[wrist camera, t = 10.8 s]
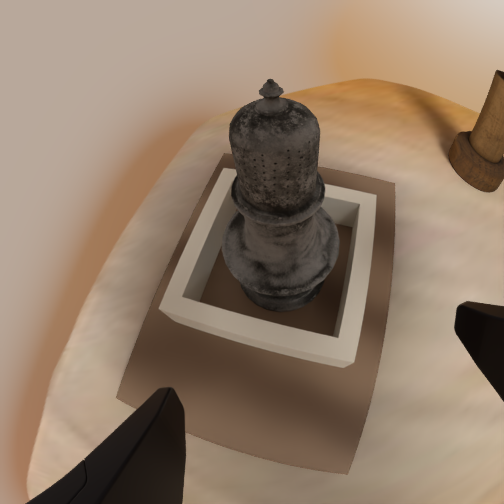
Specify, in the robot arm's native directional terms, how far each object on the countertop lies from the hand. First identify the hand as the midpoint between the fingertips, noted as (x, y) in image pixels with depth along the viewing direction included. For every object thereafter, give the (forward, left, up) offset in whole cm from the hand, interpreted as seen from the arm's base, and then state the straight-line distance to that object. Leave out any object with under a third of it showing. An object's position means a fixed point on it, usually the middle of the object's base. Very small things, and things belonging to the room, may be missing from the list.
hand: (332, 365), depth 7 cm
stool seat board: (+5, +3, -9) cm, 11 cm away
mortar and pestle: (+22, -14, -9) cm, 27 cm away
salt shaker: (+6, +3, -8) cm, 10 cm away
